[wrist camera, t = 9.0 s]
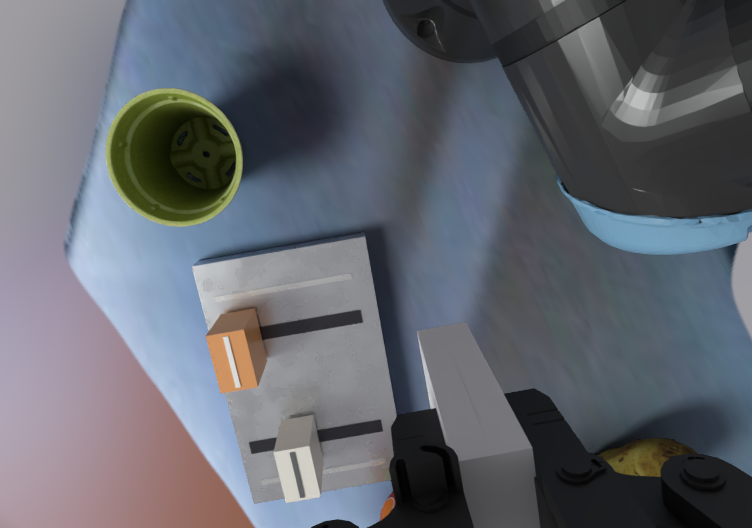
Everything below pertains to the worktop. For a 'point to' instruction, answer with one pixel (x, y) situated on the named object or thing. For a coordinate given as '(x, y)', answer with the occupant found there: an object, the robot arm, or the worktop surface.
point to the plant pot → (173, 157)
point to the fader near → (237, 350)
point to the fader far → (299, 459)
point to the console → (309, 357)
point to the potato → (644, 456)
